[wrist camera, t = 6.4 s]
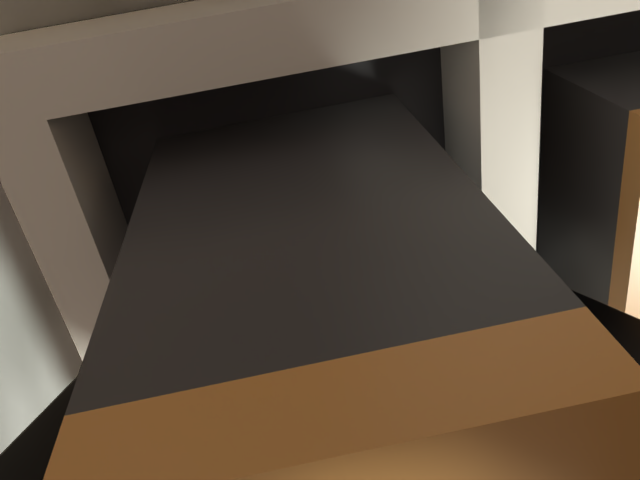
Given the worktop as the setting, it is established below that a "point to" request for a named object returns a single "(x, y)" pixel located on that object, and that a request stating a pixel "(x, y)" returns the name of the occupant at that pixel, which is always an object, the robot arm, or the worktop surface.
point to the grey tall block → (339, 322)
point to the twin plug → (593, 178)
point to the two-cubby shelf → (269, 101)
